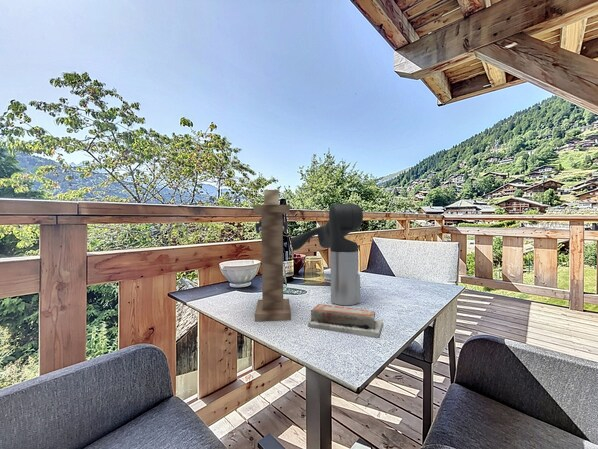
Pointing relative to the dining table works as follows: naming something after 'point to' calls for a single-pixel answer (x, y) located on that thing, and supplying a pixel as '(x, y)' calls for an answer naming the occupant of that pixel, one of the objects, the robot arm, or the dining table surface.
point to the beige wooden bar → (271, 197)
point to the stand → (272, 265)
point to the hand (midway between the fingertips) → (271, 219)
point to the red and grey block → (345, 320)
